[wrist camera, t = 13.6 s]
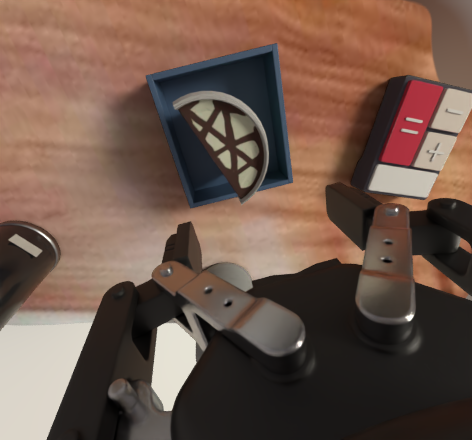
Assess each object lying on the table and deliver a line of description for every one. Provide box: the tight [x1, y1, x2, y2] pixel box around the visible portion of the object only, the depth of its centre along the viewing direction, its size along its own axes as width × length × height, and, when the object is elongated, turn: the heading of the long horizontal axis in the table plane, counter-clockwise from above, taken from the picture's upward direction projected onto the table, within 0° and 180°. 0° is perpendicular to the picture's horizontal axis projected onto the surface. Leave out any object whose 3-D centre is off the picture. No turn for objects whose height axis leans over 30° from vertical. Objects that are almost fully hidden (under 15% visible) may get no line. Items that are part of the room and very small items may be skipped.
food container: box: [173, 91, 269, 204], centre depth 28 cm, size 12×6×10 cm, turn 33°
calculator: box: [351, 75, 472, 200], centre depth 36 cm, size 11×4×15 cm
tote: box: [146, 43, 293, 208], centre depth 31 cm, size 14×15×5 cm
